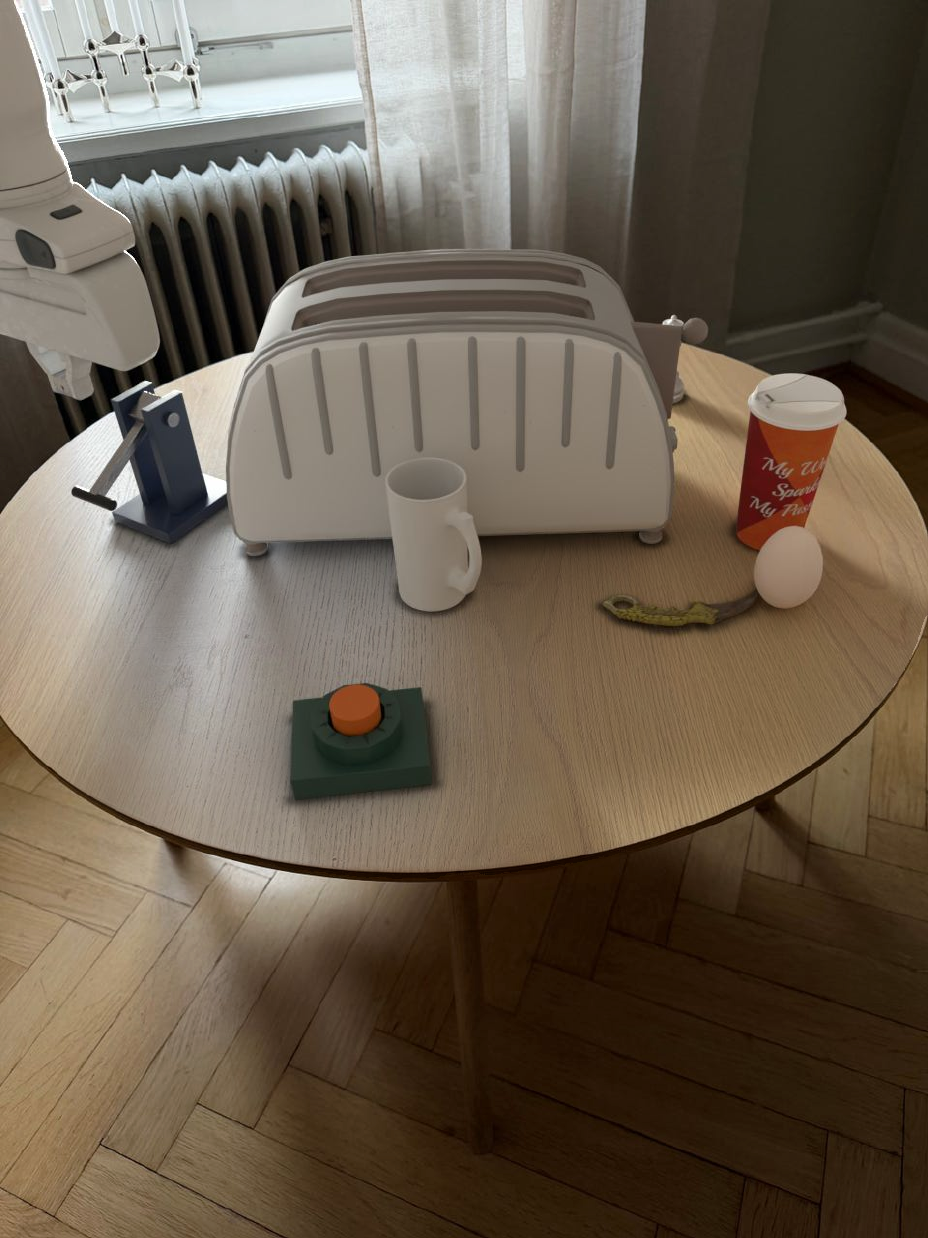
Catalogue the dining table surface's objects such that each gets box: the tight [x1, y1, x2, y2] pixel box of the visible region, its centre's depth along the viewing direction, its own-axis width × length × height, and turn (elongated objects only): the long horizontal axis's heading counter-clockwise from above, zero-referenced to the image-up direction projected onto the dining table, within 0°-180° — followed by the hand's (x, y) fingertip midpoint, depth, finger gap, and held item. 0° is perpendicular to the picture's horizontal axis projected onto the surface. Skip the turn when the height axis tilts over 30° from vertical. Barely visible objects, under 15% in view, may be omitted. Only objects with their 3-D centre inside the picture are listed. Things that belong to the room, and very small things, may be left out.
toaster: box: [225, 248, 709, 557], centre depth 88 cm, size 21×45×22 cm, turn 90°
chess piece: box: [662, 314, 685, 404], centre depth 107 cm, size 4×4×10 cm
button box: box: [289, 682, 433, 801], centre depth 68 cm, size 10×8×4 cm
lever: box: [70, 392, 162, 512], centre depth 87 cm, size 12×5×2 cm, turn 149°
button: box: [329, 684, 381, 736], centre depth 67 cm, size 4×4×2 cm
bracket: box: [110, 380, 228, 545], centre depth 92 cm, size 10×8×13 cm
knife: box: [602, 587, 760, 627], centre depth 80 cm, size 14×1×5 cm
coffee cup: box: [735, 372, 847, 551], centre depth 84 cm, size 8×8×15 cm
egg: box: [753, 526, 824, 609], centre depth 79 cm, size 6×6×8 cm
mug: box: [385, 457, 483, 613], centre depth 79 cm, size 10×7×12 cm, turn 40°
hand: (74, 393), depth 75 cm, fingers closed
